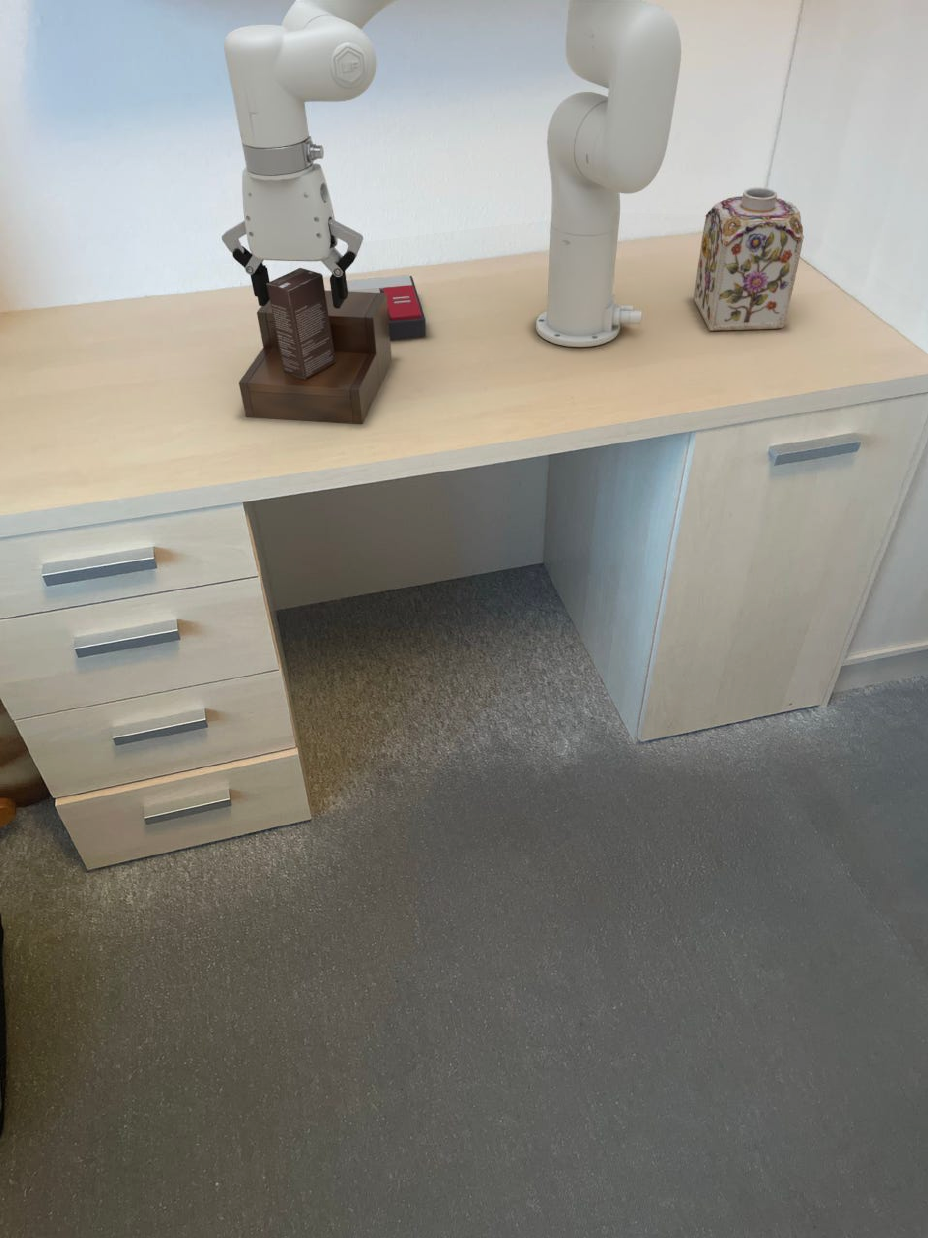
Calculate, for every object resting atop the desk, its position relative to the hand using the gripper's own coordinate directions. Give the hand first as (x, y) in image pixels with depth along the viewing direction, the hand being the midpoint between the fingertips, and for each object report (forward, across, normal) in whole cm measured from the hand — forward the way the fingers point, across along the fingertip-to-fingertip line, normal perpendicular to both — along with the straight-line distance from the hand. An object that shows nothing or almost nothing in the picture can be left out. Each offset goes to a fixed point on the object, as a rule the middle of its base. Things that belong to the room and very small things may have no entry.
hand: (302, 302), depth 114 cm
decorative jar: (+15, -57, -34) cm, 68 cm away
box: (+9, 0, 0) cm, 9 cm away
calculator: (+14, -4, -26) cm, 30 cm away
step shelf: (+14, +1, -5) cm, 15 cm away
